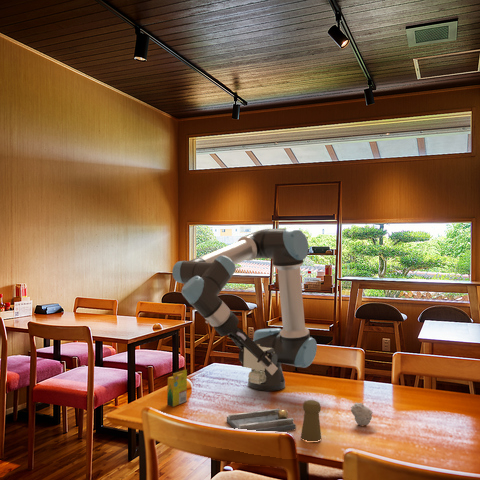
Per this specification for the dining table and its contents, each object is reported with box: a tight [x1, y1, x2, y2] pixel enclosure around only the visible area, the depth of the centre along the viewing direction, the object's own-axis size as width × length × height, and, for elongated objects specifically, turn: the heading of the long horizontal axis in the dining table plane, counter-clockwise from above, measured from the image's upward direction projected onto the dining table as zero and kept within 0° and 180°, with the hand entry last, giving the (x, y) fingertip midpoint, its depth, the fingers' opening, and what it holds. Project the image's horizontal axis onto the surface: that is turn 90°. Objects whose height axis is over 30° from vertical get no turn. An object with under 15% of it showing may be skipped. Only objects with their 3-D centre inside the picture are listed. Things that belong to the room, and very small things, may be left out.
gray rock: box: [350, 402, 374, 426], centre depth 144 cm, size 6×7×7 cm
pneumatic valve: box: [238, 344, 277, 384], centre depth 142 cm, size 6×12×12 cm, turn 59°
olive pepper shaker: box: [300, 399, 322, 441], centre depth 133 cm, size 6×6×11 cm
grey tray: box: [226, 408, 297, 432], centre depth 142 cm, size 18×13×4 cm
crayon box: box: [166, 369, 188, 408], centre depth 161 cm, size 7×3×12 cm, turn 145°
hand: (267, 367), depth 143 cm, fingers closed on pneumatic valve, 10 cm apart
